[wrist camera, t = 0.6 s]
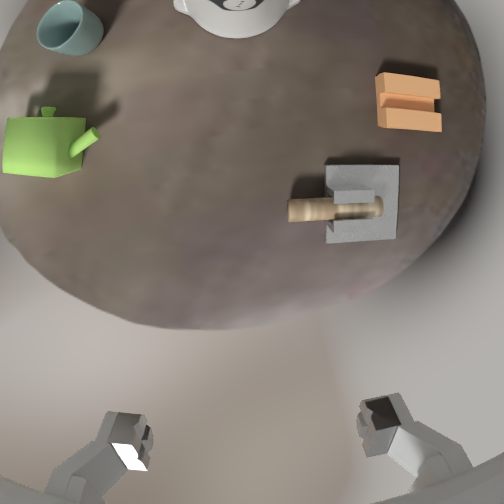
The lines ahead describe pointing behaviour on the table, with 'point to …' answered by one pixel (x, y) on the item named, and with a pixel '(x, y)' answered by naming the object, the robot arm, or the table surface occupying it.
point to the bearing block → (362, 200)
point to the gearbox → (46, 144)
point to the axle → (331, 209)
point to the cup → (70, 29)
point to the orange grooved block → (407, 102)
